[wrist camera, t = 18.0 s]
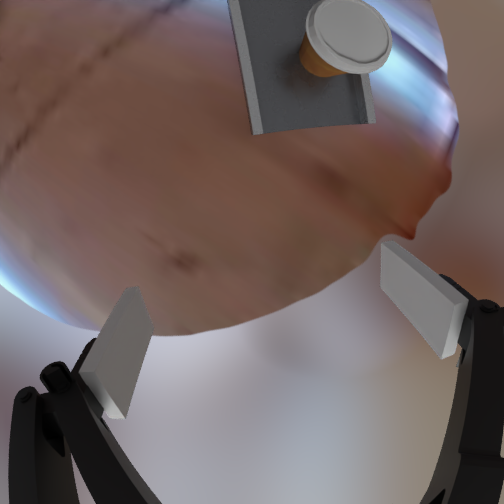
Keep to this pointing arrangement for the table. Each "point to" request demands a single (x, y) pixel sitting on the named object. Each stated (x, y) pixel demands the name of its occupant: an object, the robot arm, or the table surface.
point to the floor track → (290, 72)
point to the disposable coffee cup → (344, 38)
